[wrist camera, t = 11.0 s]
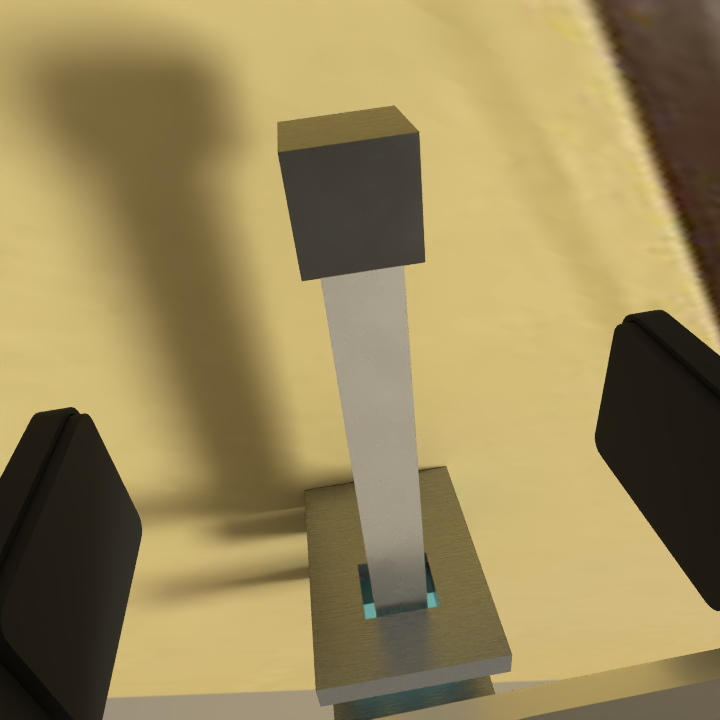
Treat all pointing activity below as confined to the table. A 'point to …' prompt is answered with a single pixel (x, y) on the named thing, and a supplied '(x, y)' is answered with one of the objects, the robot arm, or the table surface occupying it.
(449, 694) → the pair of grey plates
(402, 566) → the shaft
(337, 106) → the table surface
